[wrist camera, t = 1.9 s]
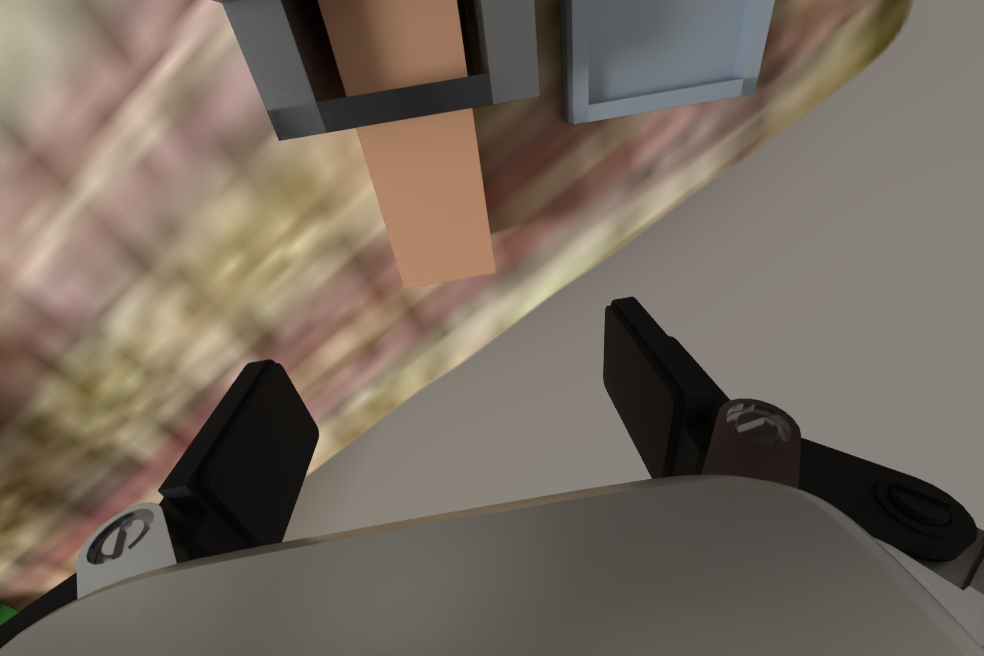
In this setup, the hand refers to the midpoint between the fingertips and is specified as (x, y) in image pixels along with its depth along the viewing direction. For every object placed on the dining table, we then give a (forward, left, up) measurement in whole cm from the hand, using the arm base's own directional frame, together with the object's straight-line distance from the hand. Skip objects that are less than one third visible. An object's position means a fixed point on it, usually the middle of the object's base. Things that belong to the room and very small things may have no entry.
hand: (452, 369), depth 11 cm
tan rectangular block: (-4, 0, -16) cm, 17 cm away
